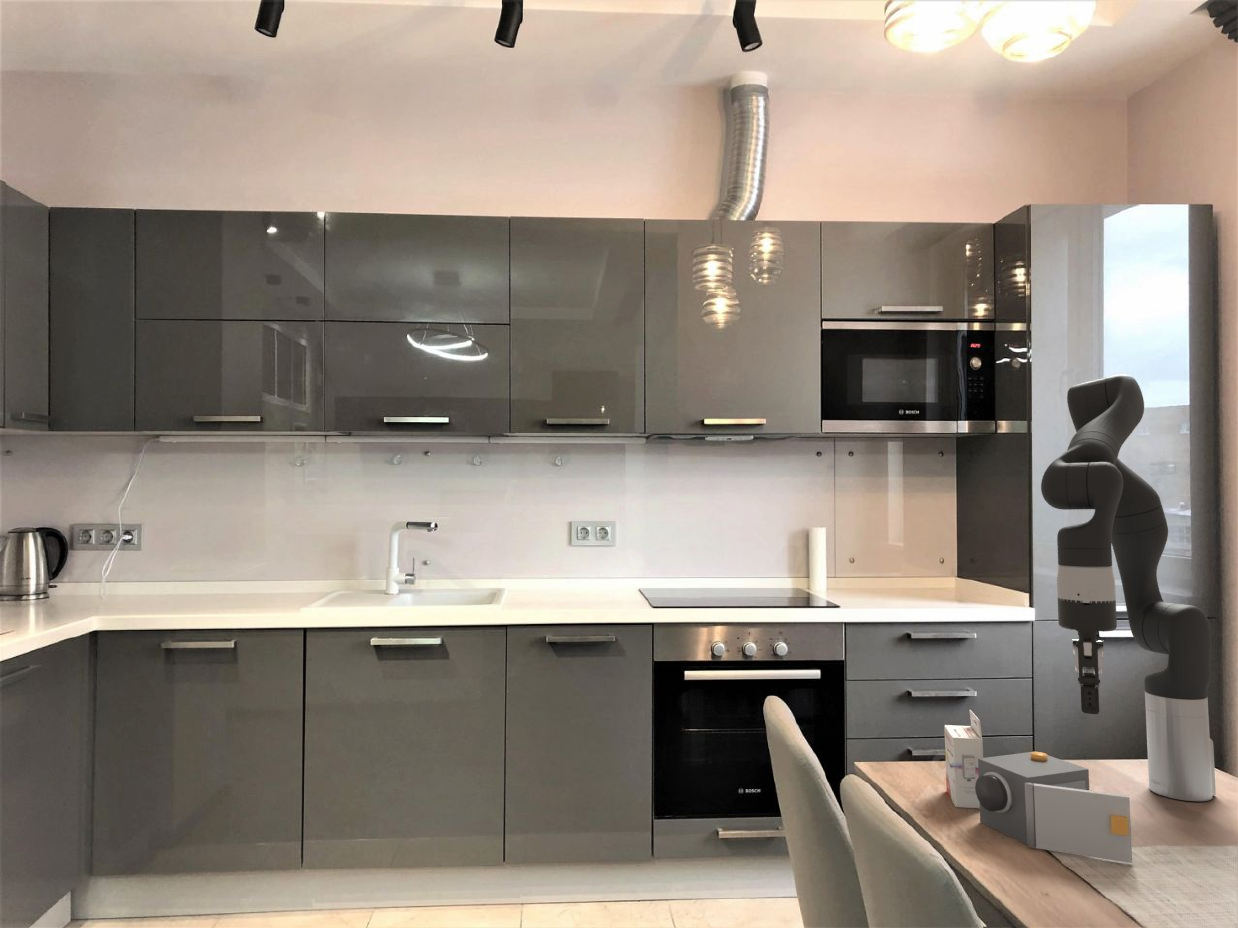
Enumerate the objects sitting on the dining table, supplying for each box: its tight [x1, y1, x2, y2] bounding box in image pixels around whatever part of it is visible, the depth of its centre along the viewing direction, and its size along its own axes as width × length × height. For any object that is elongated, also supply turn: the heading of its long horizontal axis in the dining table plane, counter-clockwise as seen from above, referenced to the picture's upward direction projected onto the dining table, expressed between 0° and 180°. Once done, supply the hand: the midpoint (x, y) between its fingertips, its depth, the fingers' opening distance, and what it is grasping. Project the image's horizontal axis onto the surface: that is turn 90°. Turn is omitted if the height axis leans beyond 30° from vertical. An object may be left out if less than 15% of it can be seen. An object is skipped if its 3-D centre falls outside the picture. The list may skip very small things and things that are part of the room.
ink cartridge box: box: [943, 709, 984, 809], centre depth 140 cm, size 9×5×15 cm, turn 168°
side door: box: [1025, 782, 1133, 864], centre depth 116 cm, size 13×2×9 cm, turn 64°
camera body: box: [975, 750, 1090, 846], centre depth 127 cm, size 14×10×11 cm
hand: (1090, 706), depth 119 cm, fingers open, 8 cm apart
